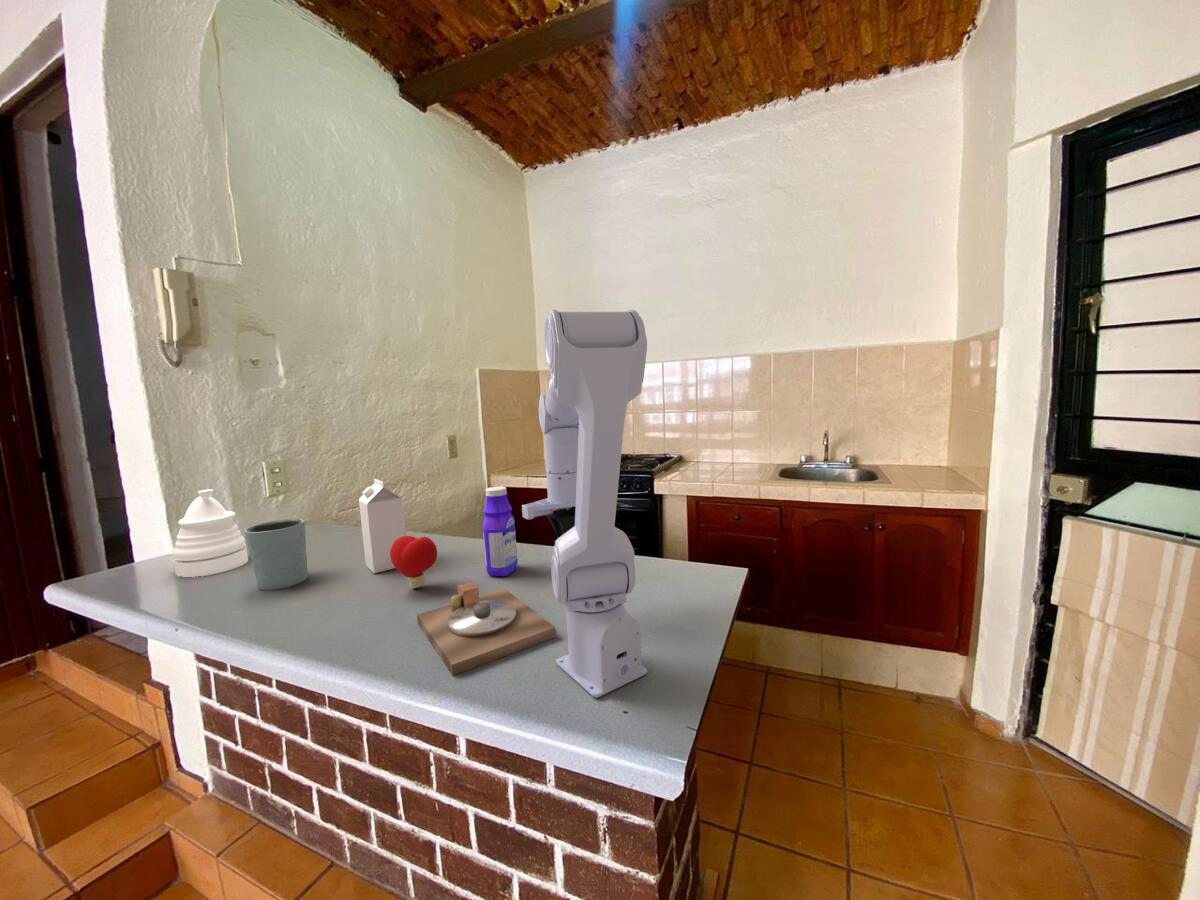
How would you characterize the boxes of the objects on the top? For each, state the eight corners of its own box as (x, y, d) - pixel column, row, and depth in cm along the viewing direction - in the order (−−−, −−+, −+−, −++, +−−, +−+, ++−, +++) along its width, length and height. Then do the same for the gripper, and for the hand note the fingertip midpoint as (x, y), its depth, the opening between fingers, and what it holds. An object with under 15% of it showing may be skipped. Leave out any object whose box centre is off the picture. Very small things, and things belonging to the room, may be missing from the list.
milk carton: (399, 557, 107) (391, 476, 105) (409, 565, 101) (400, 479, 99) (365, 566, 102) (356, 481, 100) (374, 574, 97) (364, 484, 95)
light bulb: (383, 593, 87) (378, 541, 85) (410, 579, 93) (405, 530, 92) (424, 598, 84) (419, 544, 82) (449, 583, 90) (444, 533, 89)
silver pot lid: (527, 621, 70) (525, 600, 69) (461, 644, 64) (459, 620, 63) (494, 595, 80) (493, 575, 79) (435, 612, 74) (433, 592, 74)
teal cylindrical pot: (290, 591, 90) (282, 530, 89) (238, 593, 90) (230, 533, 89) (322, 571, 100) (315, 517, 99) (276, 573, 101) (268, 519, 99)
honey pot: (258, 562, 109) (247, 486, 107) (188, 581, 98) (175, 498, 96) (234, 554, 116) (224, 483, 114) (166, 572, 105) (154, 493, 103)
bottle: (508, 579, 91) (502, 491, 89) (481, 578, 92) (474, 491, 90) (522, 565, 98) (516, 484, 96) (496, 565, 99) (490, 484, 97)
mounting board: (555, 636, 68) (554, 612, 67) (452, 675, 59) (450, 647, 59) (505, 597, 83) (504, 576, 82) (417, 623, 74) (415, 600, 74)
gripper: (588, 463, 81) (592, 539, 83) (511, 474, 73) (517, 558, 75) (612, 467, 75) (616, 548, 77) (531, 479, 67) (537, 570, 69)
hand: (569, 554), depth 75 cm, fingers closed
